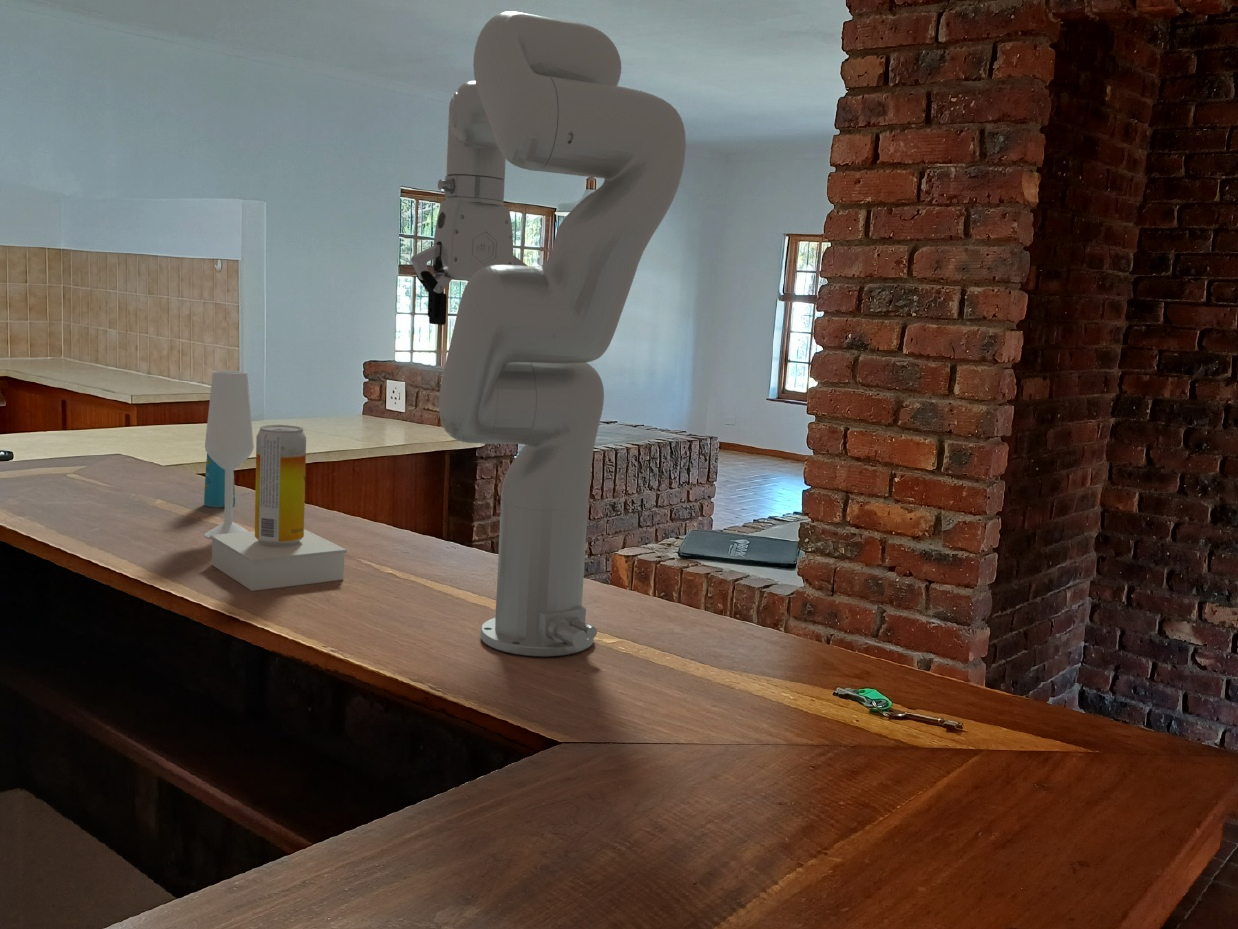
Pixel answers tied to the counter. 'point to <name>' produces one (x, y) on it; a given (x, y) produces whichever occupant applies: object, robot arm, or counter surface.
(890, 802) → the counter surface
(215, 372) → the champagne flute
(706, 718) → the counter surface
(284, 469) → the beer can
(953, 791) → the counter surface
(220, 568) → the riser
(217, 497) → the tube
